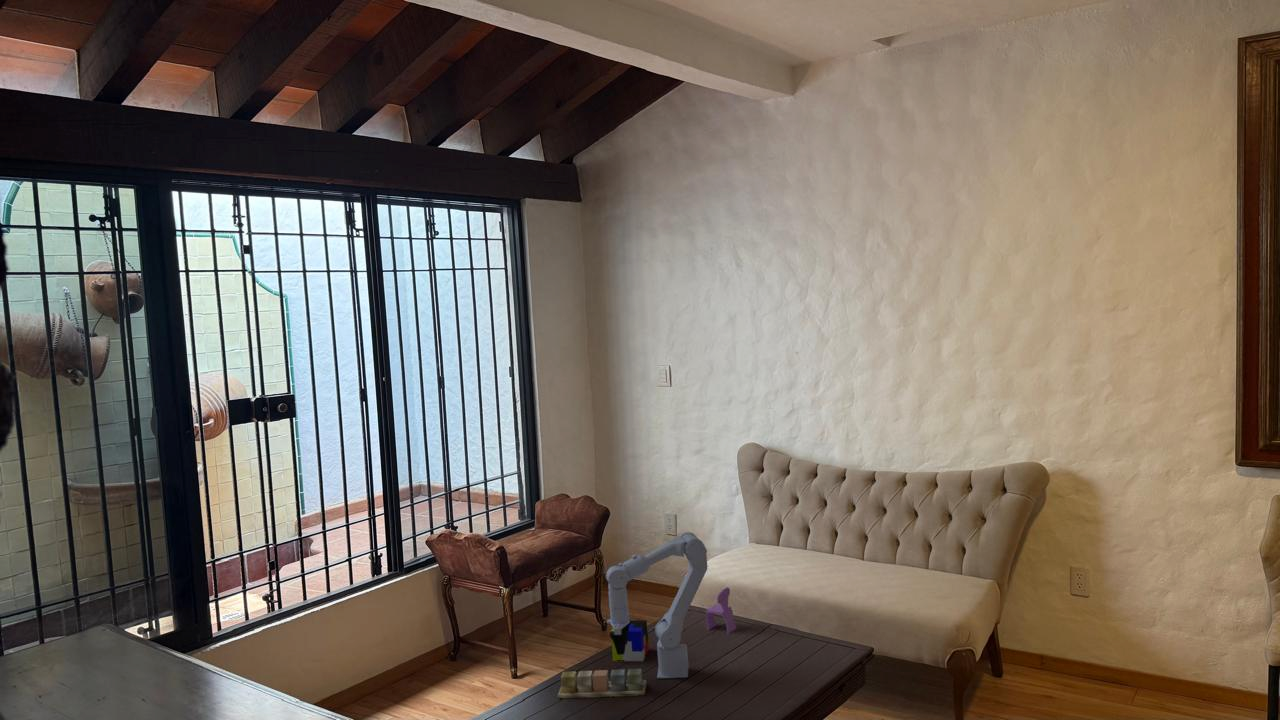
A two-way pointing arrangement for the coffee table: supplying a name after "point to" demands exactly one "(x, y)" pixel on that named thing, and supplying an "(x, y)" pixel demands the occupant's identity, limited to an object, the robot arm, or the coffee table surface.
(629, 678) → the rack
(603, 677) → the terracotta block
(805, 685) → the coffee table surface
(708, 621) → the toy chair
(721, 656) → the coffee table surface
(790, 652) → the coffee table surface
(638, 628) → the puzzle toy
